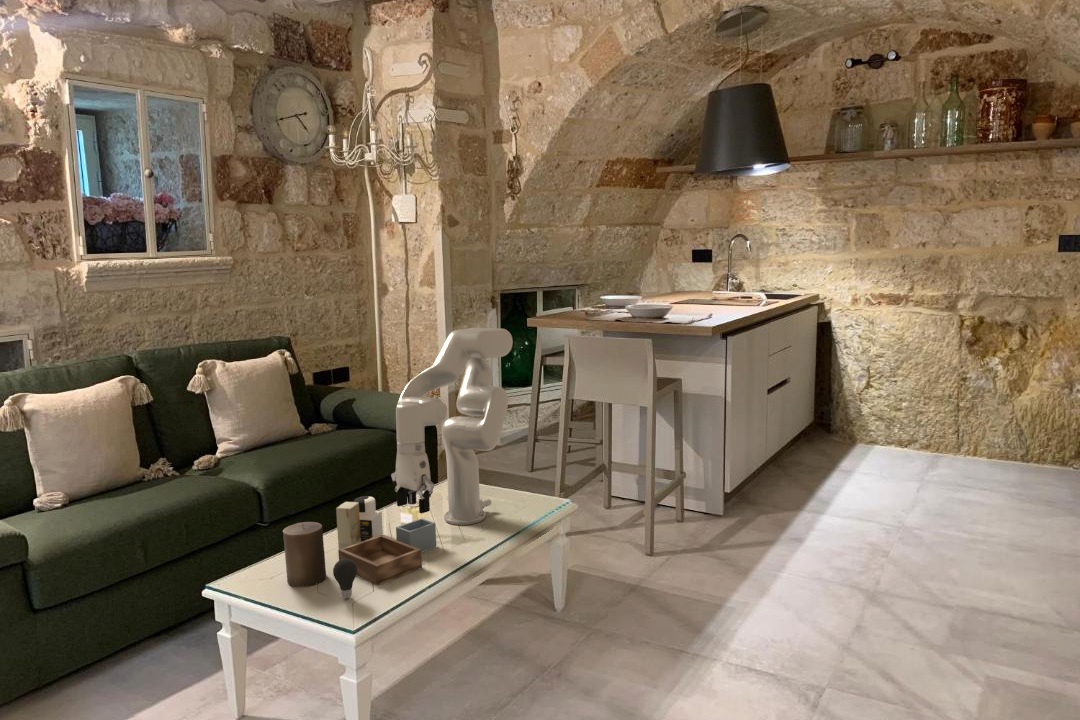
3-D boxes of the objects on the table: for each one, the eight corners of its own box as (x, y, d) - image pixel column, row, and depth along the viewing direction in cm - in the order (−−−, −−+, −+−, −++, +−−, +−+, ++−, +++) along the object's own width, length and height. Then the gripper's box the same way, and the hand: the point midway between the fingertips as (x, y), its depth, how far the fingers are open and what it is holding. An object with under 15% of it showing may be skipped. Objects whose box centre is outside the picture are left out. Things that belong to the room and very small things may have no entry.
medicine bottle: (349, 541, 237) (347, 501, 235) (360, 532, 244) (358, 493, 242) (372, 543, 236) (370, 502, 234) (383, 534, 242) (381, 494, 241)
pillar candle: (330, 581, 210) (326, 524, 208) (291, 590, 206) (287, 532, 204) (320, 569, 219) (316, 514, 217) (282, 577, 214) (278, 521, 212)
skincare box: (352, 551, 230) (349, 509, 228) (338, 550, 231) (335, 508, 229) (362, 542, 236) (359, 501, 234) (347, 542, 237) (345, 500, 235)
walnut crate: (382, 552, 229) (381, 534, 228) (422, 567, 217) (421, 549, 217) (339, 567, 219) (338, 549, 218) (378, 585, 207) (376, 566, 207)
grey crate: (422, 541, 236) (421, 518, 235) (436, 546, 232) (435, 522, 231) (397, 551, 229) (395, 527, 228) (410, 556, 225) (409, 532, 224)
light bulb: (335, 605, 197) (332, 565, 195) (334, 595, 202) (331, 556, 200) (359, 601, 198) (357, 562, 197) (357, 592, 204) (355, 553, 202)
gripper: (442, 449, 223) (444, 511, 225) (402, 440, 234) (404, 499, 237) (420, 455, 217) (422, 518, 219) (380, 445, 229) (383, 505, 231)
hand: (413, 508), depth 228 cm, fingers open, 9 cm apart
